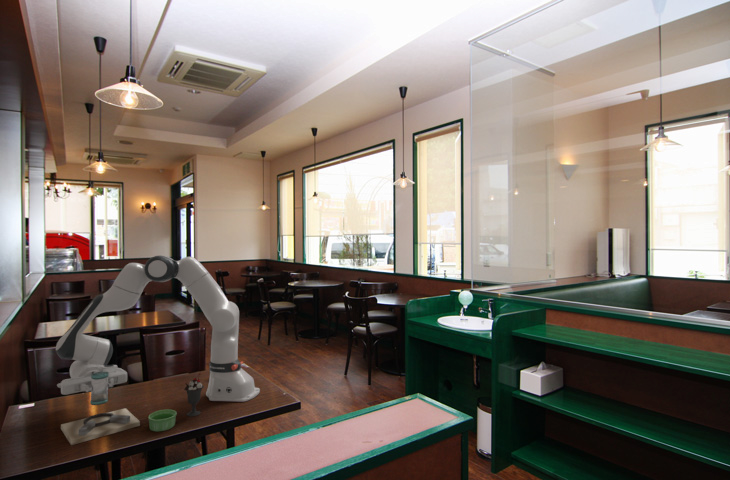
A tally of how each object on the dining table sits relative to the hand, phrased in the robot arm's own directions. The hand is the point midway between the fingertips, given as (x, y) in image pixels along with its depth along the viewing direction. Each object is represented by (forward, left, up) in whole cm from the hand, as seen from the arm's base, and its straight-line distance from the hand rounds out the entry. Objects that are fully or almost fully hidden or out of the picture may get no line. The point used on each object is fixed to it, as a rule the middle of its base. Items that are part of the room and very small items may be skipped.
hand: (100, 387), depth 142 cm
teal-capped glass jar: (+1, 0, -5) cm, 6 cm away
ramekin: (-21, -5, -14) cm, 26 cm away
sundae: (-25, -17, -14) cm, 34 cm away
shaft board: (-1, +1, -14) cm, 14 cm away
